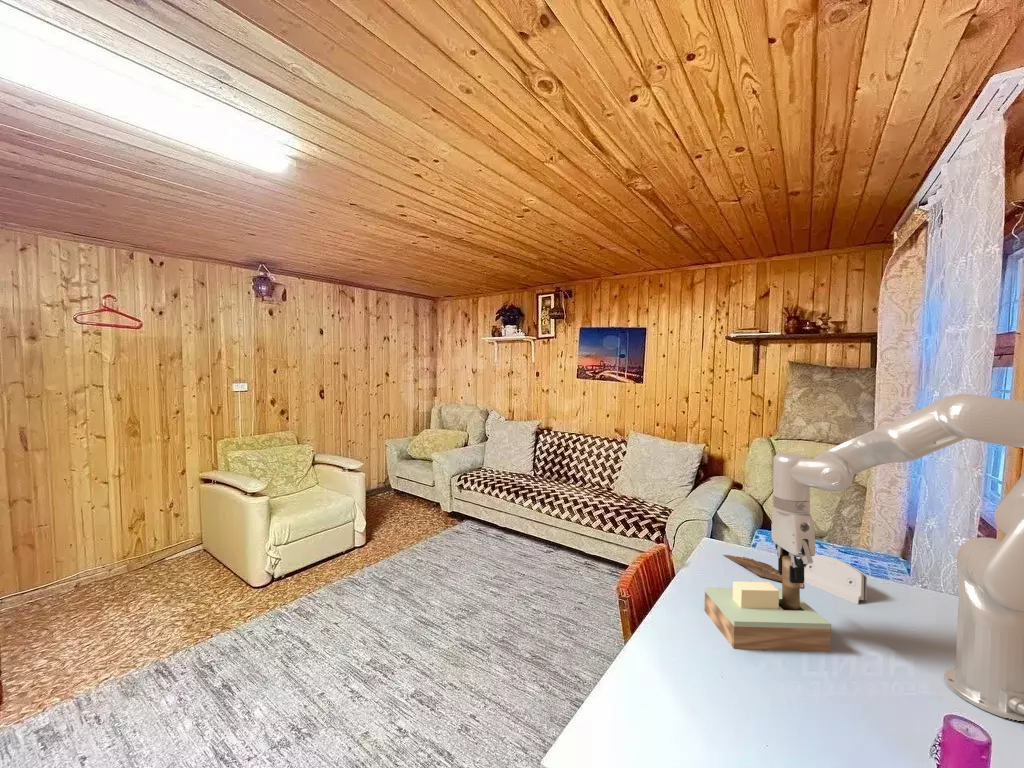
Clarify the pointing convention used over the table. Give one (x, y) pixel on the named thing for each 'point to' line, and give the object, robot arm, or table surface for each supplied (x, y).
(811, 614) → the lid
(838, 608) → the table surface
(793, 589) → the pin
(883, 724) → the table surface
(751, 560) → the wooden fragment
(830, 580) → the white curved device casing
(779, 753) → the table surface
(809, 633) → the box with square hole
